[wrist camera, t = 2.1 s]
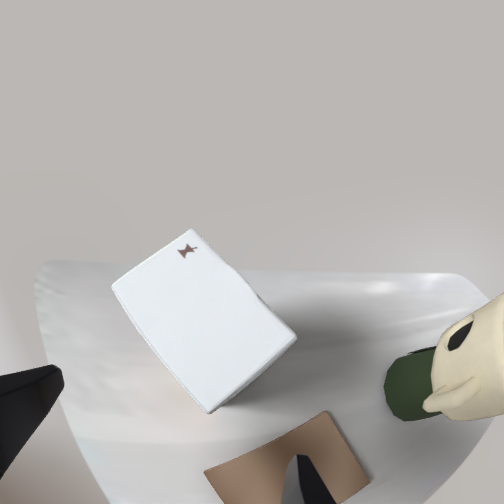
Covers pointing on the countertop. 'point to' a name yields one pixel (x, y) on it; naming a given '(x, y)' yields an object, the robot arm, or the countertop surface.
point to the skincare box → (202, 320)
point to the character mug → (454, 371)
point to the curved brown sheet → (276, 462)
